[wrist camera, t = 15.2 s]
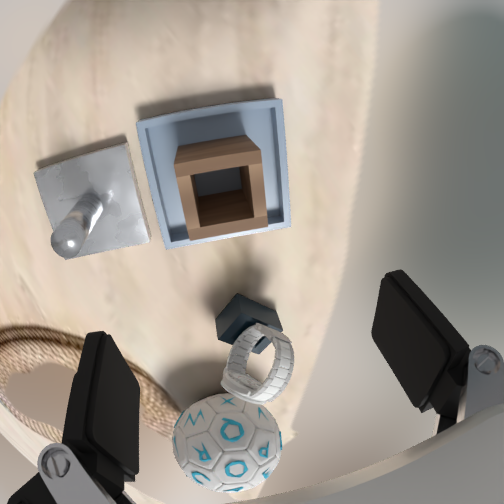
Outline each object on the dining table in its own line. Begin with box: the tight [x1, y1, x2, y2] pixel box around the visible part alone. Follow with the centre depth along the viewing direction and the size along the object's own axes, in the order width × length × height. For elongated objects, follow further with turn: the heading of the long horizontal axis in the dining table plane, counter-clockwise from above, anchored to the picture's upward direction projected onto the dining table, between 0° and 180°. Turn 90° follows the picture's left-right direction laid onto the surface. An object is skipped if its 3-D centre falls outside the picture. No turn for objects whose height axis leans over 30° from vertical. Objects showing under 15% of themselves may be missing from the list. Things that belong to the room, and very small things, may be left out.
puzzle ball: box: [172, 393, 282, 493], centre depth 37 cm, size 15×15×15 cm
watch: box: [215, 293, 294, 405], centre depth 30 cm, size 6×8×11 cm
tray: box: [136, 98, 291, 250], centre depth 25 cm, size 11×11×2 cm
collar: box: [174, 135, 268, 241], centre depth 23 cm, size 6×6×6 cm
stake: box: [34, 142, 151, 260], centre depth 22 cm, size 9×9×8 cm
